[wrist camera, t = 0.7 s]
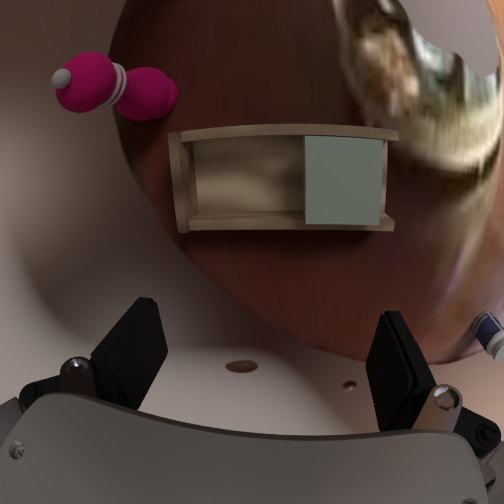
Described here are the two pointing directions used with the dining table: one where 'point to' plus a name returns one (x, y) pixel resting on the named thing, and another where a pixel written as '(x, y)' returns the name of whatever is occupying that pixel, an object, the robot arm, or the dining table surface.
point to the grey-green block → (342, 180)
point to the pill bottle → (490, 334)
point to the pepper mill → (114, 87)
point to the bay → (254, 176)
